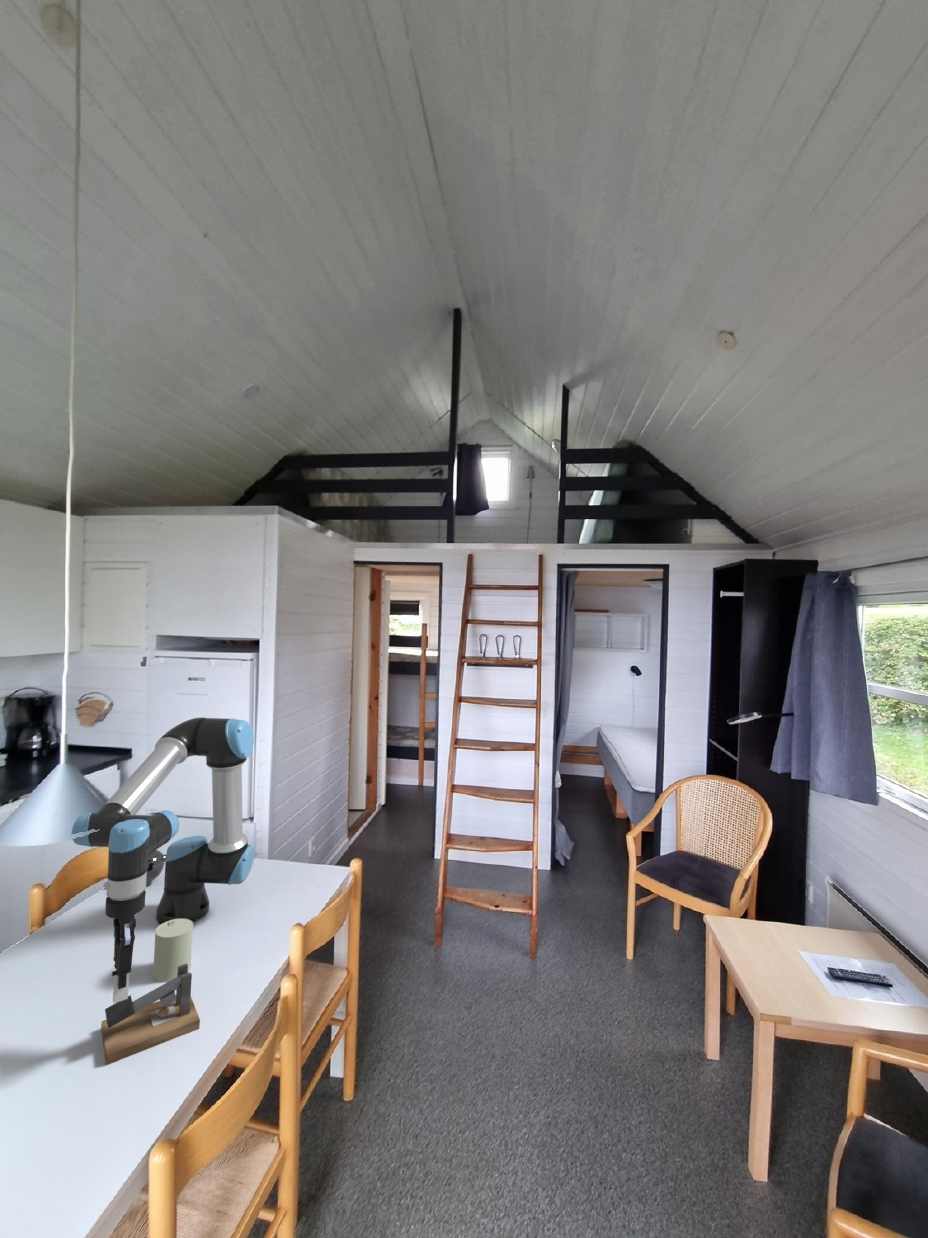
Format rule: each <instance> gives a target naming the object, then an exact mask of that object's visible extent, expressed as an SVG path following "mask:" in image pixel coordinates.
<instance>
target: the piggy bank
mask: <svg viewBox="0 0 928 1238" xmlns="http://www.w3.org/2000/svg"><path fill="white" fill-rule="evenodd" d="M165 859H166V854H163V853H162V852H161V850H158V849H157V850H155V851H154V852H153V853H151V854H150V855H148V858H147V880H146V888H147V887H150V886H151V885H152V882H153V881H154V880H155V879H157V878H158V877H159V876H160V875H161V874H162V872H163V869H164V868H165Z"/></svg>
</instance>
